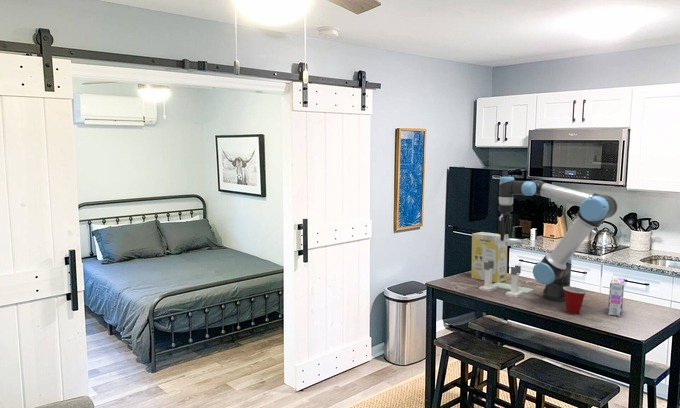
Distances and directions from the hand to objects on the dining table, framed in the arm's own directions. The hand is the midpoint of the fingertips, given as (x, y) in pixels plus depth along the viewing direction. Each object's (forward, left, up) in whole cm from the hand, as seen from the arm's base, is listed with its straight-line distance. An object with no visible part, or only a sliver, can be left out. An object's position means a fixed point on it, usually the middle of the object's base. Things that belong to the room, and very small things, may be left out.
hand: (503, 245), depth 281 cm
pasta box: (+18, -20, -26) cm, 38 cm away
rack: (0, +1, -26) cm, 26 cm away
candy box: (-57, -6, -27) cm, 63 cm away
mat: (-1, -11, -26) cm, 29 cm away
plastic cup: (-42, +9, -27) cm, 50 cm away
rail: (0, 0, +2) cm, 2 cm away
